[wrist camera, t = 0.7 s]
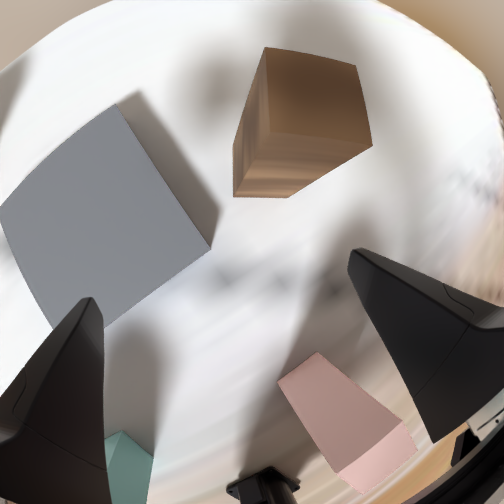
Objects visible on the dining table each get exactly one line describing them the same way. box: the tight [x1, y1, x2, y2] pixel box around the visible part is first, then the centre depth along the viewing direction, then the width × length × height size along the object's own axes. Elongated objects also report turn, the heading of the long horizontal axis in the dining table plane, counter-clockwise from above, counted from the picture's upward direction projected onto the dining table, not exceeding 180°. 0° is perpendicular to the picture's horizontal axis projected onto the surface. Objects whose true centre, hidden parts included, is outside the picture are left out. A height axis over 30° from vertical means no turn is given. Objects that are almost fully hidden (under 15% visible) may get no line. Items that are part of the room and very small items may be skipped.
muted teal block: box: [104, 431, 154, 504], centre depth 13 cm, size 4×4×12 cm
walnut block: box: [233, 47, 373, 198], centre depth 16 cm, size 4×4×12 cm
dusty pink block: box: [277, 352, 418, 495], centre depth 17 cm, size 4×4×12 cm
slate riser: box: [0, 104, 211, 330], centre depth 18 cm, size 14×14×3 cm
